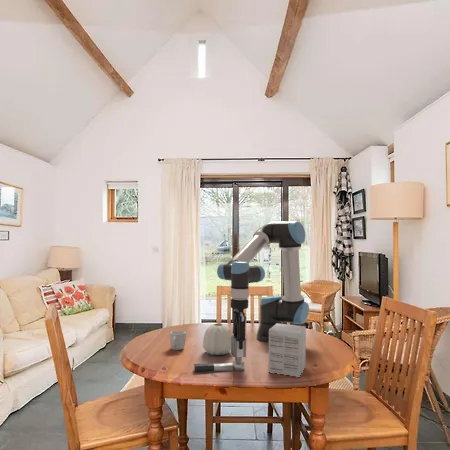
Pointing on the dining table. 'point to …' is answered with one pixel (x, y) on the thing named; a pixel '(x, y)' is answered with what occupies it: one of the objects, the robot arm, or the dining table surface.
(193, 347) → the dining table surface
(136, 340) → the dining table surface
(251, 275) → the robot arm
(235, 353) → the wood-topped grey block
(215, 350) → the vase
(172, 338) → the cup
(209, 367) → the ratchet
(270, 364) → the supplement box
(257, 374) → the dining table surface
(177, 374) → the dining table surface
